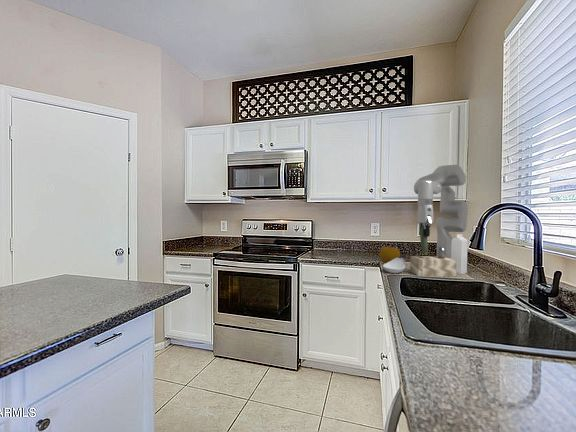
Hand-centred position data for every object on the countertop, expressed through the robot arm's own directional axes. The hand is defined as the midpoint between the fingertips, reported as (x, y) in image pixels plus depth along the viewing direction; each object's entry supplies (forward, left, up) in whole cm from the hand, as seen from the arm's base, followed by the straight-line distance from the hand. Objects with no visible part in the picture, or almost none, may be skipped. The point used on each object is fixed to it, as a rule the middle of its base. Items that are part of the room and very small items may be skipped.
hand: (424, 235), depth 166 cm
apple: (+8, -31, -21) cm, 39 cm away
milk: (-23, -6, -21) cm, 32 cm away
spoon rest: (+12, -8, -22) cm, 26 cm away
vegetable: (0, 0, -11) cm, 11 cm away
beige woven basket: (-5, 0, -21) cm, 22 cm away
